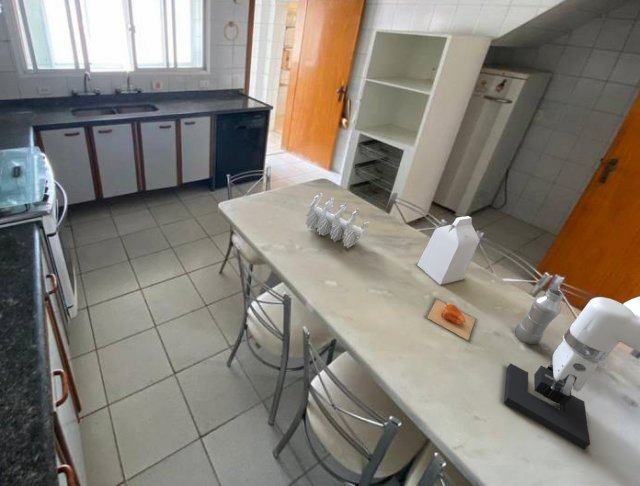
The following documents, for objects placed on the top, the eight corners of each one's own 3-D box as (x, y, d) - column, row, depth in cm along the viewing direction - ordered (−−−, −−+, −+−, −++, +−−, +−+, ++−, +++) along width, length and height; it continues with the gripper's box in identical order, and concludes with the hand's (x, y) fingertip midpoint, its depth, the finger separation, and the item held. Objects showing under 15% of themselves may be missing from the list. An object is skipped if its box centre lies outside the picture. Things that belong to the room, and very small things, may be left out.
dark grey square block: (562, 388, 88) (570, 379, 86) (563, 406, 83) (572, 397, 81) (534, 374, 91) (541, 365, 89) (534, 390, 87) (541, 381, 85)
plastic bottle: (540, 340, 105) (573, 295, 96) (532, 350, 102) (566, 304, 93) (517, 326, 110) (546, 281, 101) (509, 335, 106) (539, 289, 97)
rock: (467, 340, 103) (473, 331, 101) (426, 318, 110) (431, 309, 108) (475, 319, 111) (480, 310, 109) (436, 299, 118) (440, 290, 117)
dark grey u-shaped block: (579, 406, 87) (584, 401, 86) (584, 449, 78) (590, 444, 77) (506, 368, 96) (510, 362, 94) (503, 403, 86) (507, 397, 85)
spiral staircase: (350, 260, 141) (301, 232, 155) (370, 231, 149) (321, 207, 162) (353, 237, 128) (299, 209, 142) (374, 207, 135) (321, 183, 149)
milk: (439, 260, 139) (462, 208, 127) (463, 279, 129) (490, 224, 117) (417, 265, 135) (439, 211, 123) (440, 284, 126) (466, 228, 114)
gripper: (614, 379, 71) (570, 426, 79) (602, 330, 83) (565, 374, 91) (568, 358, 75) (531, 404, 83) (563, 313, 87) (531, 358, 95)
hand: (549, 388), depth 87 cm, fingers closed on dark grey square block, 6 cm apart
